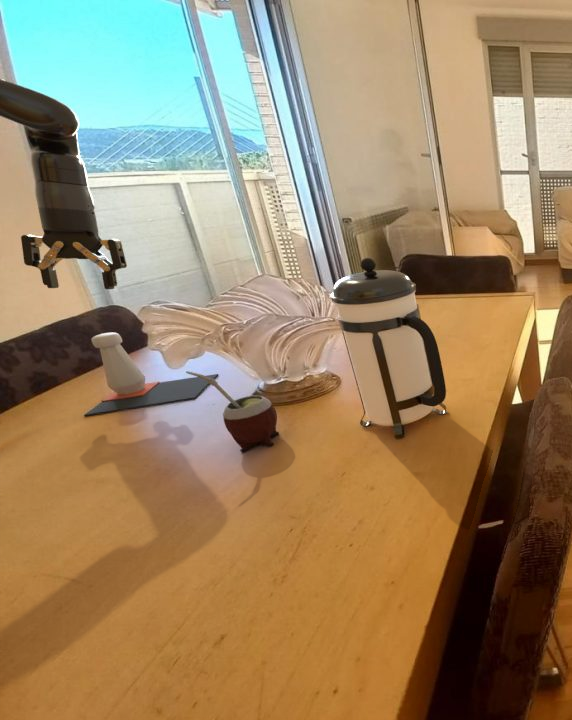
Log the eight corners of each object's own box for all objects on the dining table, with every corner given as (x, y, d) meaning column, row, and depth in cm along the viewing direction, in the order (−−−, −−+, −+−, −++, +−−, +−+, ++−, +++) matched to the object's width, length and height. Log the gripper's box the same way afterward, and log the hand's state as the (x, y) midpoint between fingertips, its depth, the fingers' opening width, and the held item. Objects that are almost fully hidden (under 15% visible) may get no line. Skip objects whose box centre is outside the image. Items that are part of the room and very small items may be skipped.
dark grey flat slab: (84, 416, 94) (83, 413, 93) (121, 389, 105) (120, 387, 105) (195, 399, 99) (194, 396, 99) (218, 375, 110) (217, 373, 110)
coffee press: (347, 449, 79) (293, 272, 68) (373, 405, 94) (333, 253, 82) (454, 435, 82) (420, 263, 71) (463, 394, 97) (437, 246, 85)
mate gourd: (293, 436, 84) (266, 358, 78) (247, 460, 77) (213, 377, 71) (266, 428, 87) (237, 353, 81) (219, 452, 80) (184, 371, 74)
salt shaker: (105, 395, 101) (76, 338, 96) (136, 383, 106) (110, 329, 101) (125, 397, 99) (97, 339, 94) (156, 385, 105) (130, 330, 100)
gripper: (1, 202, 89) (20, 289, 92) (104, 209, 95) (118, 291, 98) (29, 205, 96) (46, 286, 99) (124, 211, 102) (136, 287, 105)
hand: (82, 288), depth 99 cm, fingers open, 8 cm apart
